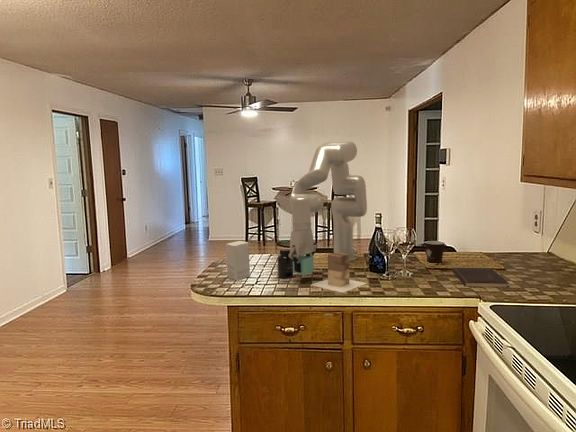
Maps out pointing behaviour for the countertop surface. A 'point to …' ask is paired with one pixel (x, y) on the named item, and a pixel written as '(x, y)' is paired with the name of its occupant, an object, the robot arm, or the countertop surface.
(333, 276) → the oak cube
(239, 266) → the skincare box
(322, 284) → the plate
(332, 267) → the walnut cube
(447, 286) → the countertop surface
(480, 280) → the hardcover book
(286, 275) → the supplement bottle
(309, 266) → the teal cube
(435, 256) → the coffee mug
